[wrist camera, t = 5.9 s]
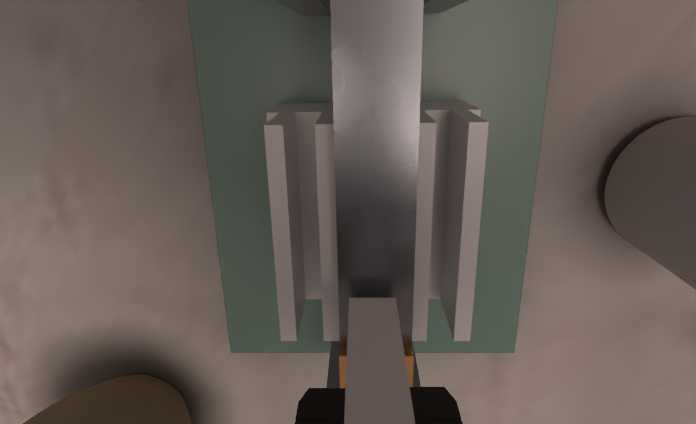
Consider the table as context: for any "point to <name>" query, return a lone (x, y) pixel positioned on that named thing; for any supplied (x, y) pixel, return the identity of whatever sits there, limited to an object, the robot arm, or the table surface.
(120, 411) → the flower pot
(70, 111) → the table surface
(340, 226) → the grey long bar
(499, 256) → the board
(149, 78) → the table surface
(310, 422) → the robot arm
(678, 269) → the beverage can
